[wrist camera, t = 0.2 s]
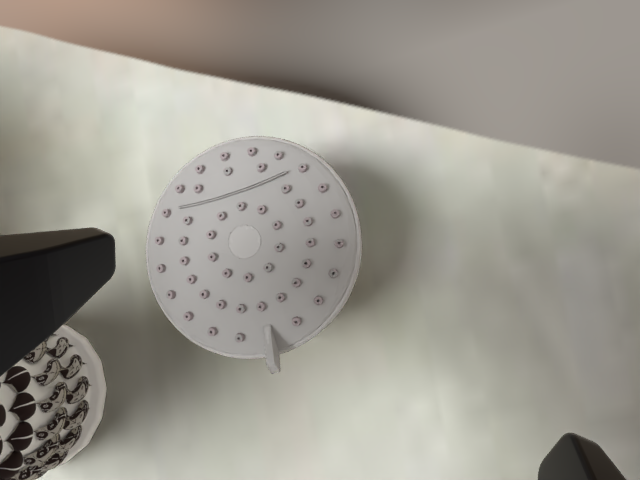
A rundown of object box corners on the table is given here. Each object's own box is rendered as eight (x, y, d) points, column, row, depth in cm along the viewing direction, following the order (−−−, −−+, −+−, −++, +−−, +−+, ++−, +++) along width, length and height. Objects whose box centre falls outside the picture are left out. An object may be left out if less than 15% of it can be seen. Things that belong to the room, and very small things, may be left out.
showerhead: (158, 405, 15) (111, 167, 17) (230, 371, 22) (191, 205, 24) (397, 341, 14) (320, 94, 16) (392, 326, 21) (340, 156, 23)
